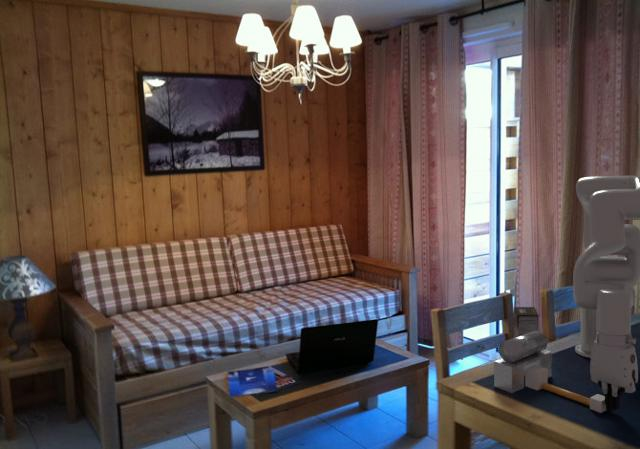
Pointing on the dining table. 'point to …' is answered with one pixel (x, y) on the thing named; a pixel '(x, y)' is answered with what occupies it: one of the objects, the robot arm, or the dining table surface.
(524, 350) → the cylinder
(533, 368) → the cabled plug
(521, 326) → the coffee box
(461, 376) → the dining table surface
